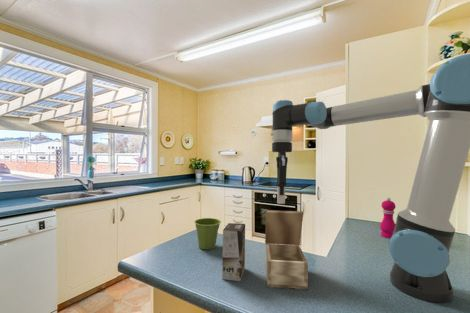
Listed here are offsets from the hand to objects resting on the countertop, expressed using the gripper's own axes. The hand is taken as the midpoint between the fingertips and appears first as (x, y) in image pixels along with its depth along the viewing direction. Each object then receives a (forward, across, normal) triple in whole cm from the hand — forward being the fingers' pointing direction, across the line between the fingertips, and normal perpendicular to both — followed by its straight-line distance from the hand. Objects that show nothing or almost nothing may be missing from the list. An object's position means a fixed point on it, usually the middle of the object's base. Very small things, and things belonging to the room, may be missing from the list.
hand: (281, 203), depth 88 cm
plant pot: (+23, -11, -31) cm, 40 cm away
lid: (+8, +7, 0) cm, 10 cm away
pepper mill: (+22, -35, +58) cm, 71 cm away
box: (+22, +11, 0) cm, 25 cm away
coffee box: (+23, +11, -17) cm, 30 cm away
